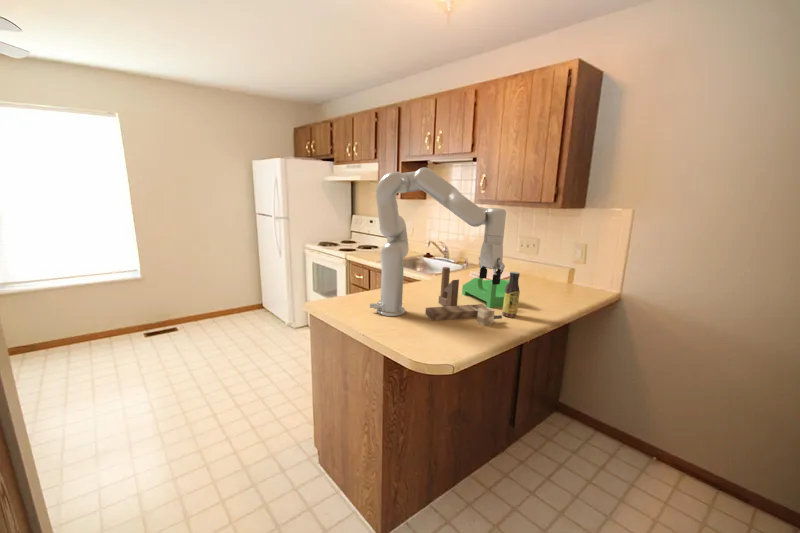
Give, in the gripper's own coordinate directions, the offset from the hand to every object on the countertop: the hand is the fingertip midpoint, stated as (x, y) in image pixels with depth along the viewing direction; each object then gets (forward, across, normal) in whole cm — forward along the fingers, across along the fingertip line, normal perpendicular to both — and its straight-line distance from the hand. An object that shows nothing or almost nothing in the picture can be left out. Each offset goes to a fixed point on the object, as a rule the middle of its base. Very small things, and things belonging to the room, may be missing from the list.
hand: (489, 281), depth 145 cm
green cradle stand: (+19, -30, +19) cm, 40 cm away
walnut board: (+18, -11, -7) cm, 22 cm away
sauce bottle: (+18, -6, +16) cm, 25 cm away
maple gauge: (+18, 0, +3) cm, 18 cm away
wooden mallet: (+18, -24, -6) cm, 31 cm away
